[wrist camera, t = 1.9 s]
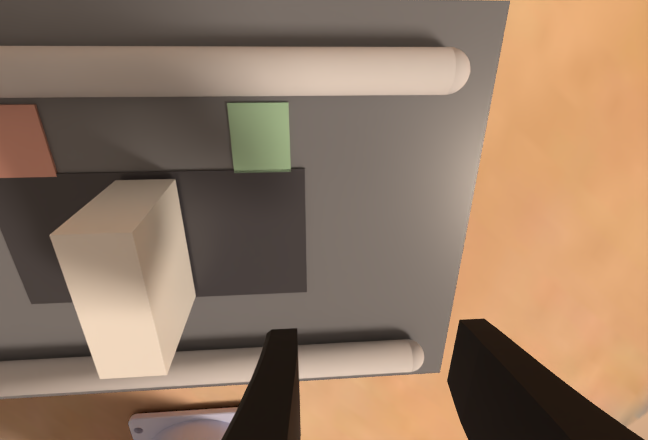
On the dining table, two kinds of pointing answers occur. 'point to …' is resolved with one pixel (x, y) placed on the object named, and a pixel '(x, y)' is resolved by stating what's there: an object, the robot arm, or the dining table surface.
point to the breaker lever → (129, 276)
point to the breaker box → (255, 175)
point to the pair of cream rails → (222, 80)
